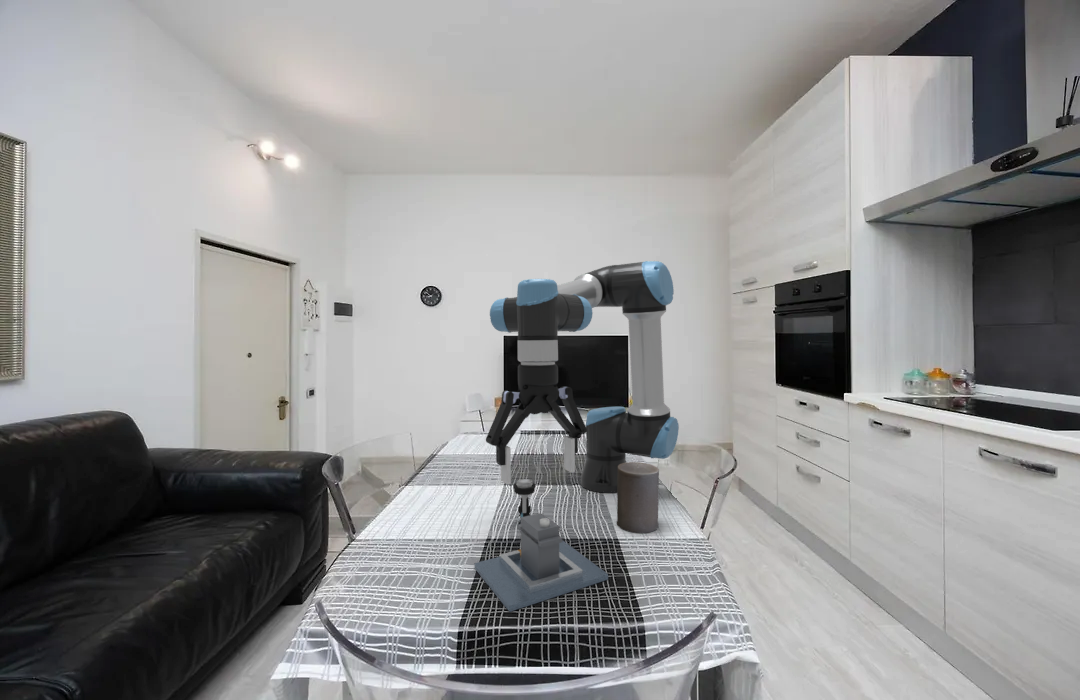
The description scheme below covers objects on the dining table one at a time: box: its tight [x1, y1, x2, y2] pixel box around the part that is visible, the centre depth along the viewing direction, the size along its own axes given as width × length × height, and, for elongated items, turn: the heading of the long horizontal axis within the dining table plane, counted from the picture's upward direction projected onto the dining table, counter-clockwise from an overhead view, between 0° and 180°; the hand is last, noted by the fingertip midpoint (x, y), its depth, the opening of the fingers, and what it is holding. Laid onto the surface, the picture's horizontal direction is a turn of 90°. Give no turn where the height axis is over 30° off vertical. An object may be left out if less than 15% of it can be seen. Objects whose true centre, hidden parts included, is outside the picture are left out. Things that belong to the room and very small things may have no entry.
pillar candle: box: [616, 461, 660, 534], centre depth 108 cm, size 10×10×15 cm
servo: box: [517, 512, 563, 580], centre depth 86 cm, size 4×9×10 cm, turn 29°
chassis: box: [473, 539, 609, 613], centre depth 86 cm, size 20×16×2 cm
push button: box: [512, 478, 536, 523], centre depth 109 cm, size 7×5×10 cm
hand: (538, 476), depth 86 cm, fingers open, 13 cm apart
